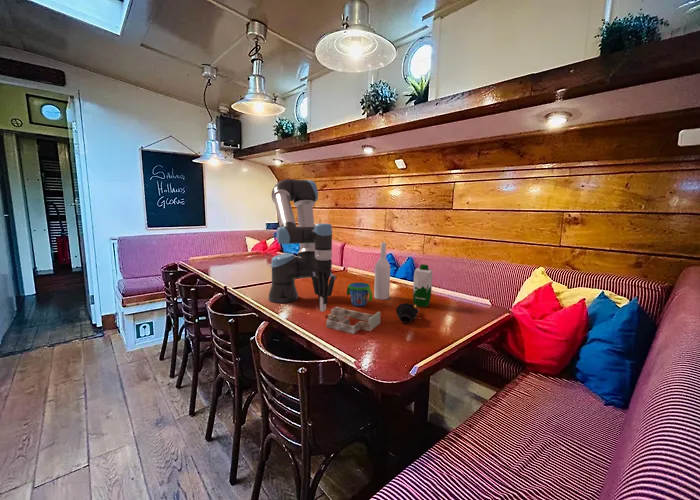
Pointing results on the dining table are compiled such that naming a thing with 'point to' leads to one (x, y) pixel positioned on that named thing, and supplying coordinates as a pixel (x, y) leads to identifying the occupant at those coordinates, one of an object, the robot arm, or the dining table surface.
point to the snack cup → (359, 293)
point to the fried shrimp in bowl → (407, 312)
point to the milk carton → (422, 286)
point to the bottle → (382, 276)
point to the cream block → (338, 313)
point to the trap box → (346, 327)
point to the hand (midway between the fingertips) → (323, 310)
